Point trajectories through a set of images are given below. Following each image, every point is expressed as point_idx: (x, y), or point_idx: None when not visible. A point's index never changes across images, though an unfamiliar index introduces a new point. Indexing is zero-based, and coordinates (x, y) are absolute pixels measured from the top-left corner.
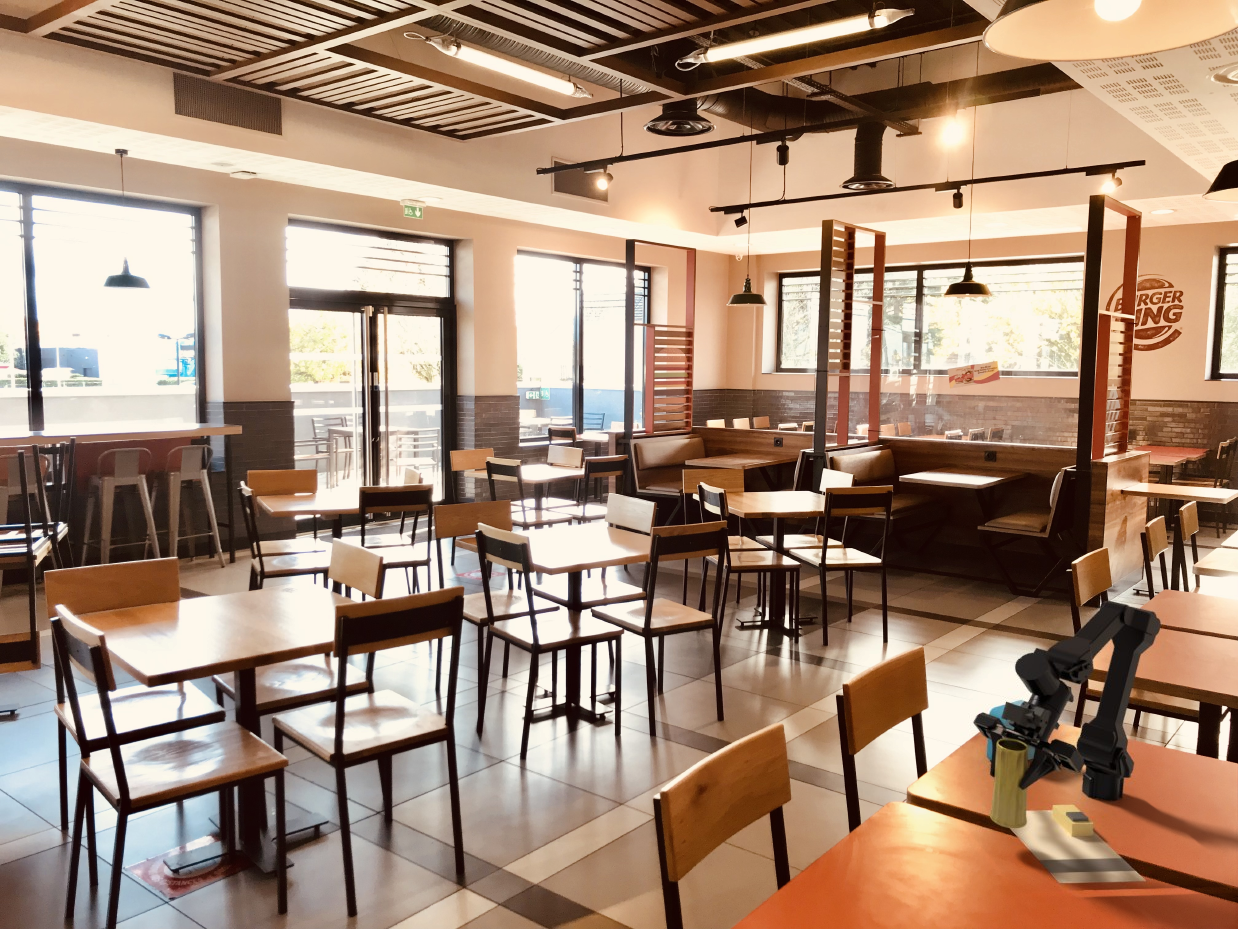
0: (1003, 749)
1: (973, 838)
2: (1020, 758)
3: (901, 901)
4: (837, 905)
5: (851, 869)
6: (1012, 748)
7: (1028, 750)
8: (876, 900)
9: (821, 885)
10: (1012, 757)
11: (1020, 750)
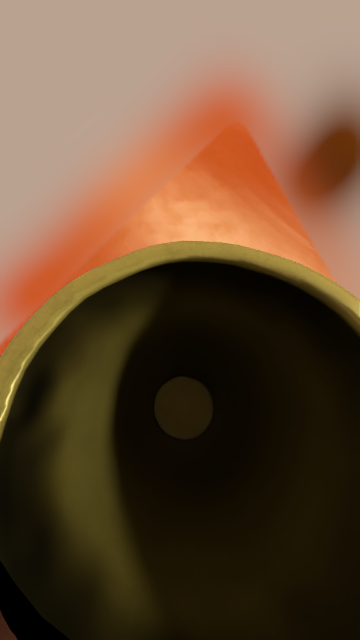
0: (209, 247)
1: None
2: (78, 362)
3: (186, 200)
4: (216, 159)
5: (259, 203)
6: (284, 573)
7: (19, 612)
8: (202, 185)
9: (250, 168)
10: (130, 308)
11: (190, 611)
